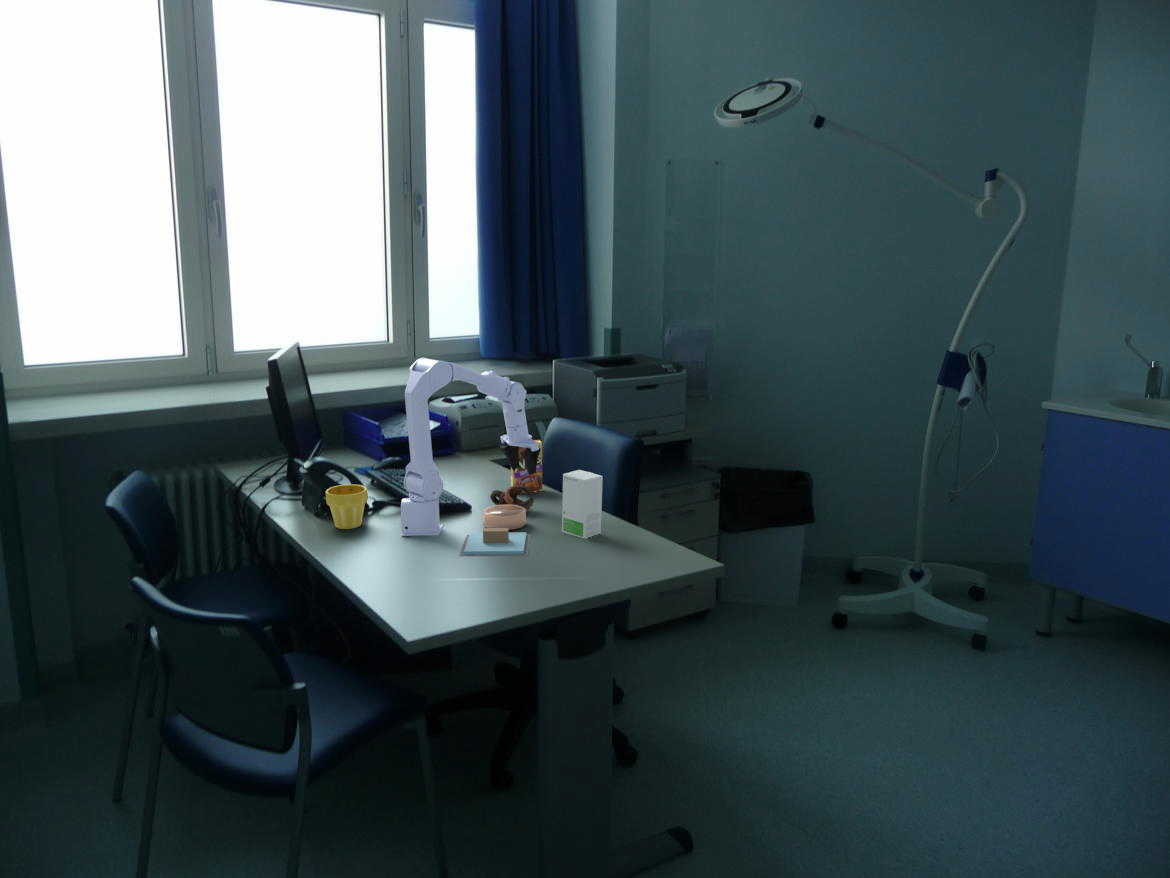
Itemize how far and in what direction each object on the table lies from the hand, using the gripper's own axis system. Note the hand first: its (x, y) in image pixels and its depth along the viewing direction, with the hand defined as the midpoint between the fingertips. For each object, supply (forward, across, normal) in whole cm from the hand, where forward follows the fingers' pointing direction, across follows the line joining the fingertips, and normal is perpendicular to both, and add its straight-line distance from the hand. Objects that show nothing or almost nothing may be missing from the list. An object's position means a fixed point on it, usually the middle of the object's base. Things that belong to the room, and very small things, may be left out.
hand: (523, 470), depth 251 cm
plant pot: (+3, +18, +45) cm, 49 cm away
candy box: (+12, +13, -8) cm, 20 cm away
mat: (+6, -21, +26) cm, 34 cm away
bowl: (+8, -11, +16) cm, 21 cm away
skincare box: (+10, -28, +5) cm, 30 cm away
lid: (+6, -21, +26) cm, 34 cm away
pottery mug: (+10, 0, +6) cm, 12 cm away
